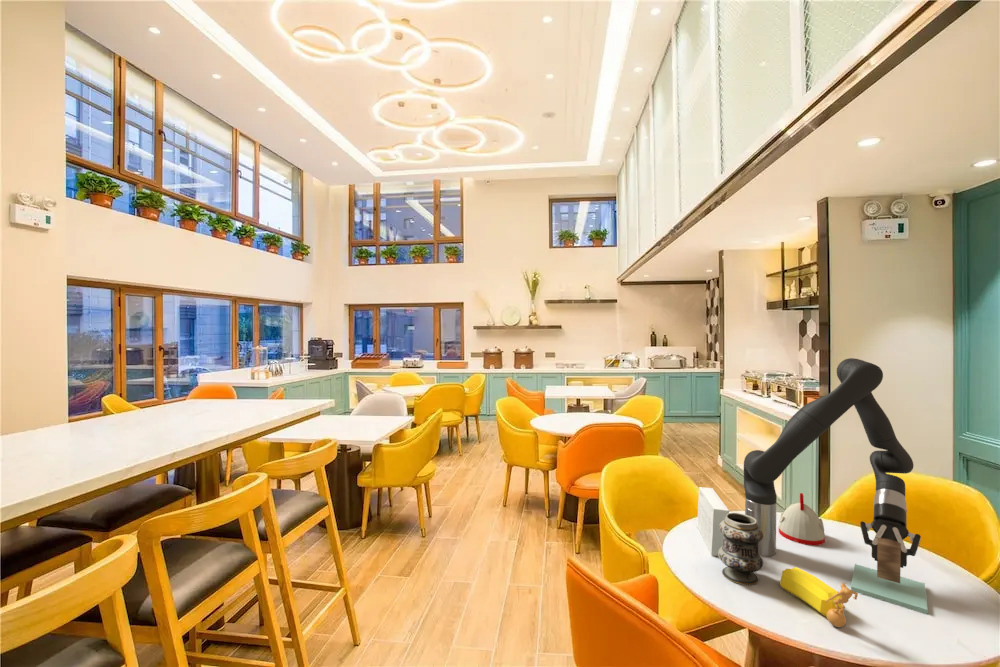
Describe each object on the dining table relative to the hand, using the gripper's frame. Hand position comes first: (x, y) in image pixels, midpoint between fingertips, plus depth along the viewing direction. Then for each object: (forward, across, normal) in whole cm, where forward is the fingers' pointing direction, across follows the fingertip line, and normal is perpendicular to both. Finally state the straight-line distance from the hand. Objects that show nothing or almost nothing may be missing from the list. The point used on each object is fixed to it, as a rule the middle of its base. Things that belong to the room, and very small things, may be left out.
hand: (888, 563), depth 128 cm
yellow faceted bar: (+20, -16, -8) cm, 27 cm away
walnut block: (+2, 0, +5) cm, 5 cm away
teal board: (+5, 0, +7) cm, 9 cm away
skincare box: (+8, -47, +4) cm, 48 cm away
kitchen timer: (-11, -24, +23) cm, 35 cm away
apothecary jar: (+20, -34, -8) cm, 40 cm away
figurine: (+26, -9, -14) cm, 31 cm away
